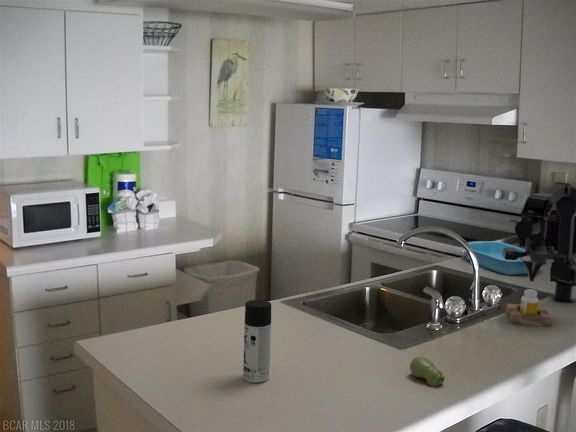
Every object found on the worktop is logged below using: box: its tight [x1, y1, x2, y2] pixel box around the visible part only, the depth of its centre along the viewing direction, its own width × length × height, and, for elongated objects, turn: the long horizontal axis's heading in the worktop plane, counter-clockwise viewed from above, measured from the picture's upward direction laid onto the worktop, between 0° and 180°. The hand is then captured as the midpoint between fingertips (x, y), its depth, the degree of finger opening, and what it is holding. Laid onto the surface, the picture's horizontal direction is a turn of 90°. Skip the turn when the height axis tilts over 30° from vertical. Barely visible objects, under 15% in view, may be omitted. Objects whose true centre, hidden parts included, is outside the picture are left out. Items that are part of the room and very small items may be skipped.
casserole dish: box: [462, 240, 533, 276], centre depth 292 cm, size 37×22×7 cm, turn 23°
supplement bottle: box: [520, 288, 539, 314], centre depth 226 cm, size 5×5×10 cm
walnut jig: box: [505, 302, 553, 328], centre depth 227 cm, size 12×12×3 cm
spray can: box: [242, 299, 272, 384], centre depth 175 cm, size 7×7×20 cm
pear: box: [409, 356, 446, 387], centre depth 179 cm, size 6×5×10 cm
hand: (531, 281), depth 225 cm, fingers closed
